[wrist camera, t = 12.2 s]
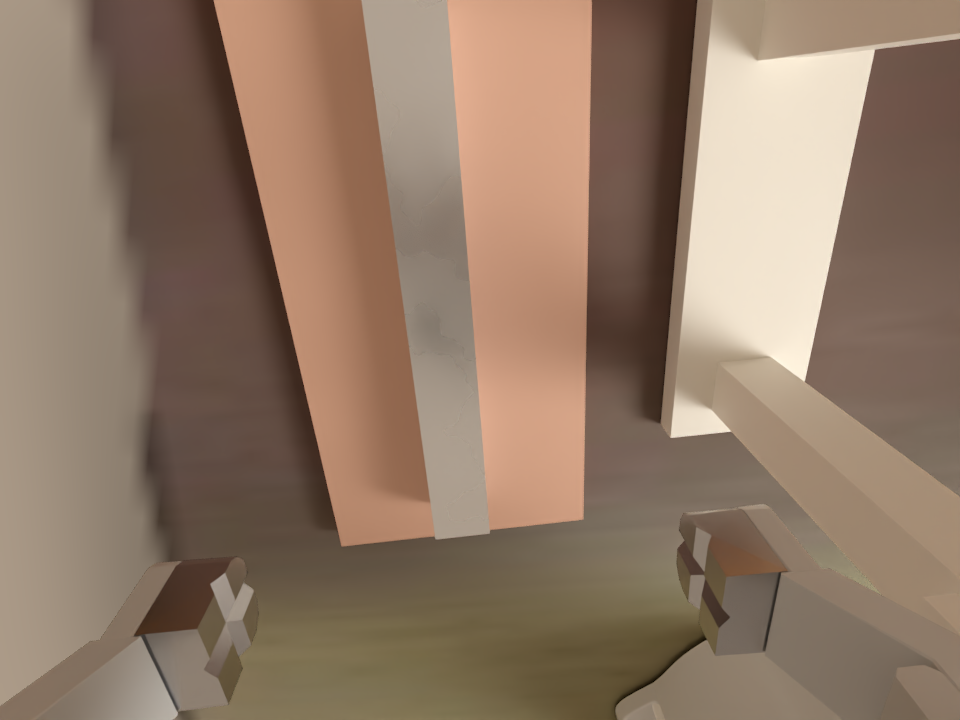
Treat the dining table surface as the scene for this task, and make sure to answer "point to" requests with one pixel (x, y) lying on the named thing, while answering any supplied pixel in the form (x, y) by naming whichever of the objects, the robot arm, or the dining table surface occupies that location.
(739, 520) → the robot arm
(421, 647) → the dining table surface
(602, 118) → the dining table surface
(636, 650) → the dining table surface
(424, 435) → the aluminium rail
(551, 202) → the terracotta board
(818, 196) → the cradle stand
